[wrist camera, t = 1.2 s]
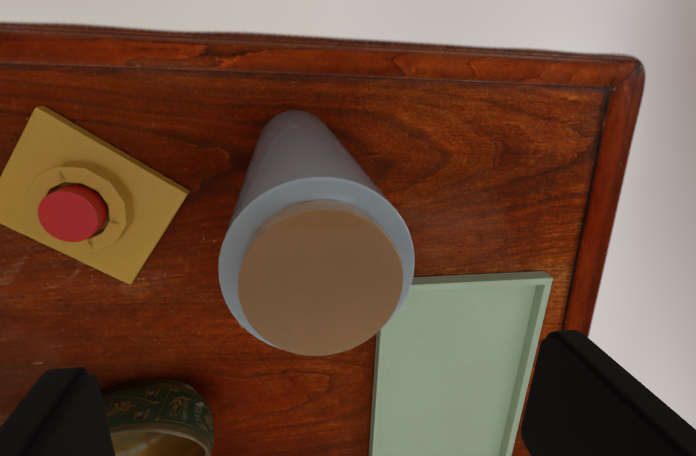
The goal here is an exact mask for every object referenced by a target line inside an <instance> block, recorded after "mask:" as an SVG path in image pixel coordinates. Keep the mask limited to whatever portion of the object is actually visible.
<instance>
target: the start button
mask: <svg viewBox="0 0 696 456" xmlns="http://www.w3.org/2000/svg"><path fill="white" fill-rule="evenodd" d="M38 218H39V221H40V223H41V225H42V227H43V228H44V229H45V230H46V231H47V232H48V233H49V234H50V235H52V236H53V237H55V238H57V239H59V240H62V241H66V242H80V241H84V240H86V239H88V238H90V237H91V236H92V235H93V234H94V233H96V232H97V231H98V230H99V229H100V228H101V227H102V226H103V225H104V223H105V221H106V218H107V209H106V206H105V204H104V202H103V200H102V199H101V197H100V196H99V195H98V194H97V193H95V192H94V191H92V190H91V189H89V188H86V187H83V186H79V185H68V186H64V187H62V188H60V189H58V190H56V191H54V192H52V193H50V194H48V195H47V196H45V197H44V198H43V199H42V201H41V202H40V204H39V207H38Z"/></svg>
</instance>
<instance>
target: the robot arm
mask: <svg viewBox="0 0 696 456" xmlns="http://www.w3.org/2000/svg"><path fill="white" fill-rule="evenodd" d="M521 435H522V440H523V442H524V444H525V446H526V448H527V449H528V451H529V452H530V454H531V455H532V456H696V430H695V429H694V428H693V427H692V426H691V425H689V424H688V423H687V422H686V421H685V420H684V419H682V418H681V417H680V416H679V415H678V414H677V413H675V412H674V411H673V410H672V409H670V407H668V406H667V405H666V404H665V403H664V402H662V401H661V400H660V399H659V398H658V397H656V396H655V395H654V394H653V393H652V392H651V391H649V390H648V389H647V388H646V387H645V386H644V385H643V384H641V383H640V382H639V381H638V380H637V379H635V378H634V377H633V376H632V375H631V374H630V373H628V372H627V371H626V370H625V369H624V368H623V367H621V366H620V365H619V364H618V363H617V362H616V361H614V360H613V359H612V358H611V357H609V356H608V355H607V354H606V353H605V352H604V351H603V350H601V349H600V348H599V347H598V346H597V345H596V344H594V343H593V342H592V341H591V340H590V339H589V338H587V337H586V336H585V335H584V334H583V333H581V332H580V331H577V330H567V331H554V332H550V333H549V334H548V335H547V337H546V339H544V340H543V341H542V342H541V344H540V349H539V353H538V357H537V362H536V366H535V370H534V375H533V379H532V383H531V388H530V392H529V396H528V401H527V405H526V409H525V414H524V418H523V422H522V427H521ZM0 456H115V452H114V448H113V443H112V439H111V435H110V431H109V426H108V422H107V418H106V413H105V409H104V405H103V400H102V396H101V392H100V388H99V383H98V379H97V377H96V376H95V375H94V374H89V375H88V372H87V370H86V369H85V368H82V367H77V368H64V369H51V370H48V371H46V372H45V373H44V374H43V375H42V376H41V377H40V378H39V380H38V381H37V382H36V383H35V385H34V386H33V387H32V388H31V390H30V391H29V392H28V393H27V395H26V396H25V397H24V399H23V400H22V401H21V402H20V404H19V405H18V406H17V407H16V409H15V410H14V411H13V412H12V414H11V415H10V416H9V417H8V419H7V420H6V421H5V423H4V424H3V425H2V426H1V428H0Z"/></svg>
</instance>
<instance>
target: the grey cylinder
mask: <svg viewBox="0 0 696 456" xmlns="http://www.w3.org/2000/svg"><path fill="white" fill-rule="evenodd" d="M414 265H415V257H414V247H413V242H412V238H411V235H410V232H409V230H408V228H407V226H406V224H405V222H404V220H403V218H402V217H401V215H400V214H399V213H398V211H397V210H396V209H395V207H394V206H393V205H392V204H391V203H390V201H389V200H388V199H387V198H386V197H385V195H384V194H383V193H382V192H381V191H380V189H379V188H378V187H377V186H376V185H375V183H374V182H373V181H372V180H371V179H370V177H369V176H368V175H367V174H366V172H365V171H364V170H363V169H362V168H361V166H360V165H359V164H358V163H357V162H356V160H355V159H354V158H353V157H352V156H351V154H350V153H349V152H348V151H347V150H346V148H345V147H344V146H343V145H342V144H341V142H340V141H339V140H338V139H337V138H336V136H335V135H334V134H333V133H332V132H331V130H330V129H329V128H328V127H327V126H326V124H325V123H324V122H323V121H322V120H321V119H319V118H318V117H316V116H315V115H313V114H311V113H308V112H305V111H299V110H292V111H286V112H283V113H280V114H278V115H276V116H274V117H273V118H272V119H270V120H269V121H268V122H267V123H266V125H265V126H264V127H263V129H262V131H261V133H260V135H259V138H258V141H257V144H256V147H255V150H254V153H253V156H252V159H251V162H250V165H249V167H248V170H247V173H246V176H245V179H244V182H243V185H242V188H241V191H240V194H239V197H238V200H237V203H236V206H235V208H234V211H233V214H232V217H231V220H230V223H229V226H228V229H227V232H226V235H225V238H224V241H223V244H222V247H221V251H220V256H219V267H218V272H219V282H220V287H221V291H222V294H223V297H224V299H225V302H226V304H227V306H228V307H229V309H230V311H231V313H232V314H233V316H234V317H235V318H236V319H237V321H238V322H239V323H240V324H241V325H242V326H243V327H244V328H245V329H246V330H247V331H248V332H250V333H251V334H252V335H254V336H255V337H256V338H258V339H260V340H261V341H263V342H265V343H267V344H269V345H272V346H274V347H276V348H279V349H283V350H285V351H288V352H292V353H295V354H301V355H310V356H321V355H330V354H336V353H340V352H343V351H347V350H349V349H352V348H354V347H356V346H358V345H360V344H362V343H364V342H365V341H367V340H368V339H370V338H371V337H373V336H374V335H375V334H376V333H377V332H378V331H380V330H381V328H383V327H384V326H385V325H386V324H387V323H388V322H389V321H390V320H391V319H392V318H393V317H394V315H395V314H396V313H397V311H398V310H399V309H400V307H401V306H402V304H403V302H404V300H405V298H406V297H407V294H408V291H409V289H410V286H411V283H412V279H413V274H414Z"/></svg>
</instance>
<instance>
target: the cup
mask: <svg viewBox="0 0 696 456" xmlns="http://www.w3.org/2000/svg"><path fill="white" fill-rule="evenodd" d="M101 396H102V400H103V405H104V409H105V413H106V418H107V422H108V426H109V431H110V435H111V439H112V443H113V448H114V452H115V456H211V452H212V447H213V440H214V423H213V415H212V412H211V409H210V407H209V405H208V403H207V402H206V400H205V399H204V398H203V397H202V396H201V395H199V394H198V393H197V391H196V390H195V389H194V388H193V387H192V386H191V385H189V384H187V383H184V382H181V381H177V380H159V379H158V380H148V381H141V382H134V383H129V384H124V385H120V386H116V387H112V388H110V389H106V390H104V391H101Z"/></svg>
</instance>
